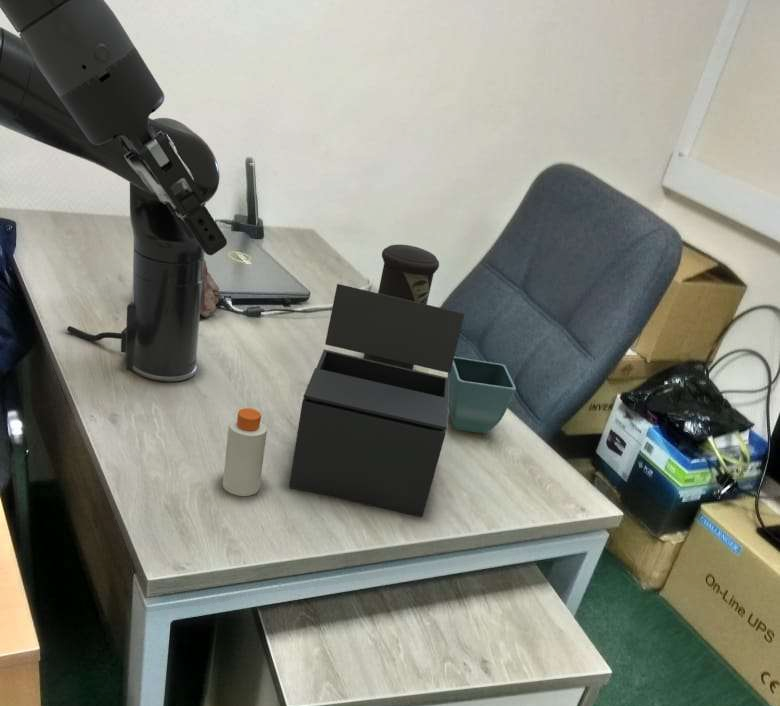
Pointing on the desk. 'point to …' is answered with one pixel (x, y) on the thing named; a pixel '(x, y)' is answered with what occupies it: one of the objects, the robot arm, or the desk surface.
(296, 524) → the desk surface
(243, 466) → the orange-capped white cylinder
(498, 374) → the flower pot
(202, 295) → the mineral specimen
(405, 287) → the container
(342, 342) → the flap
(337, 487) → the carton
